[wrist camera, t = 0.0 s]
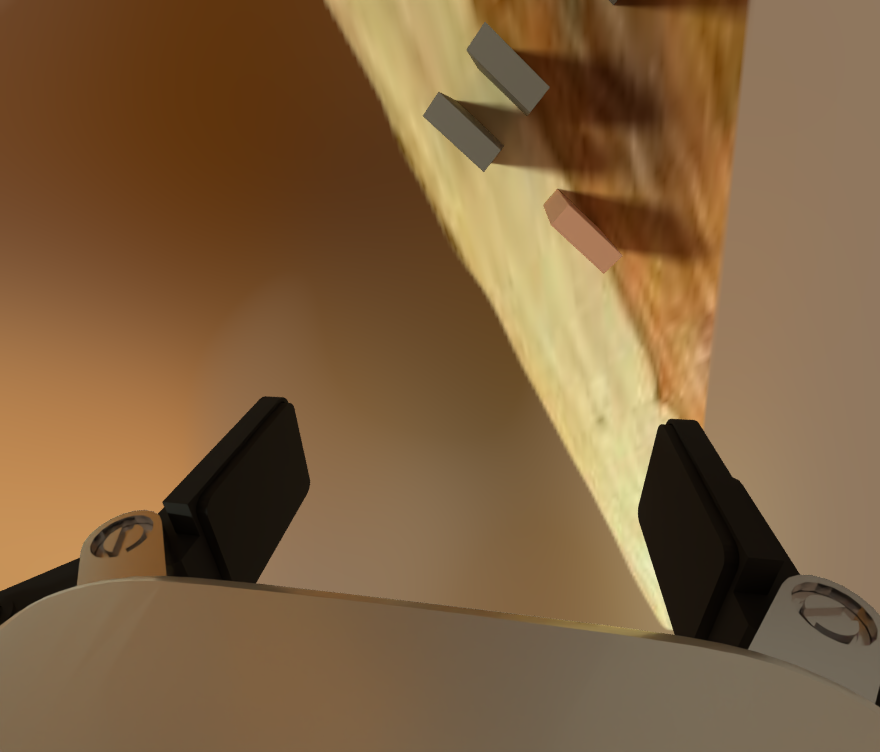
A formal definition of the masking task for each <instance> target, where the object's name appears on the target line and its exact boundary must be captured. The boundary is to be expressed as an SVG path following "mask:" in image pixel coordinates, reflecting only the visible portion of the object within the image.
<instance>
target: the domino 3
mask: <svg viewBox="0 0 880 752" xmlns="http://www.w3.org/2000/svg"><path fill="white" fill-rule="evenodd" d="M543 206H544V208H545V211H546V214H547V216H548V219H549V221H550V224H551V225H552V226H553V227H554V228H555V229H556V230H557V231H558V232H559V233H560V234H561V235H562V236H563V237H565V238H566V239H567V240H568V241H569V242H570V243H571V244H572V245H573V246H574V247H575V248H576V249H578V250H579V251H580V252H581V253H582V254H583V255H584V256H585V257H586V258H587V259H588V260H589V261H591V262H592V263H593V264H594V265H595V266H596V267H597V268H598V269H599V270H600V271H601V272H602V273H605V272H606V271H607V270H608V269H609V268H610V267H611V266H612V265H613V264H614V263H615V262H617V261H618V260H619V259H620V258H621V257H622V255H621V253H620V252H619V251H618V250H617V249H616V248H615V246H614V245H613V244H612V243H611V242H610V240H609V239H608V238H607V237H606V236H605V235H604V233H603V232H602V231H601V230H600V229H599V228H598V227H597V226H596V225H595V224H594V223H593V222H592V221H591V220H590V219H588V218H587V217H586V216H585V215H584V214H583V213H582V212H581V211H580V210H579V209H578V208H577V207H576V206H575V205H574V204H573V203H572V202H571V201H570V200H569V199H567V198H566V197H565V196H564V195H563V194H562V193H561V192H560V191H559V190H558V189H557V190H556V191H555V192H554V193H553V194H552V196H551V197H550V198H549V199H548V200H547V201H546V202H545V204H544V205H543Z"/></svg>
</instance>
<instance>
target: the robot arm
mask: <svg viewBox="0 0 880 752" xmlns="http://www.w3.org/2000/svg"><path fill="white" fill-rule="evenodd" d="M309 486H310V478H309V474H308V469H307V464H306V460H305V455H304V451H303V446H302V441H301V437H300V433H299V428H298V423H297V418H296V414H295V409H294V406H293V405H292V404H291V403H288V401H287V399H285V398H283V397H266V396H265V397H262V398H261V399H260V400H259V401H258V402H257V403H256V404H255V405H254V406H253V407H252V408H251V409H250V410H249V411H248V412H247V413H246V414H245V415H244V416H243V417H242V419H241V420H240V421H239V422H238V423H237V424H236V425H235V426H234V427H233V428H232V429H231V430H230V431H229V432H228V433H227V434H226V436H224V438H223V439H222V440H221V441H220V442H219V443H218V444H217V445H216V446H215V447H214V448H213V449H212V450H211V451H210V452H209V453H208V454H207V455H206V456H205V458H204V459H203V460H202V461H201V462H200V463H199V464H198V465H197V466H196V467H195V468H194V469H193V470H192V471H191V472H190V474H188V475H187V477H186V478H185V479H184V480H183V481H182V482H181V483H180V484H179V485H178V486H177V487H176V488H175V489H174V490H173V491H172V492H171V493H170V494H169V496H168V497H167V498H166V499H165V500H164V501H163V505H164V508H163V509H162V510H161V511H160V512H159V513H158V514H157V513H155V512H153V511H148V510H139V511H132V512H128V513H125V514H122V515H119V516H117V517H115V518H113V519H110V520H109V521H107V522H106V523H104V524H103V525H101V526H99V527H98V528H97V529H96V530H95V531H94V532H92V533H91V534H90V535H89V537H88V538H87V539H86V541H85V542H84V544H83V547H82V549H81V554H80V558H78V559H76V560H73V561H71V562H69V563H66V564H64V565H61V566H59V567H57V568H54V569H52V570H50V571H47V572H45V573H43V574H40V575H38V576H36V577H33V578H31V579H29V580H26V581H24V582H21V583H19V584H17V585H14V586H12V587H9V588H7V589H5V590H2V591H0V752H880V615H879V614H878V613H877V612H876V611H875V609H874V608H873V607H872V606H870V605H869V604H868V603H867V602H866V601H864V600H863V599H862V598H861V597H860V596H858V595H857V594H855V593H853V592H852V591H850V590H849V589H847V588H845V587H844V586H842V585H839V584H837V583H835V582H832V581H830V580H828V579H825V578H820V577H817V576H813V575H800V574H799V572H798V571H797V569H796V568H795V566H794V564H793V563H792V561H791V560H790V558H789V557H788V555H787V554H786V552H785V550H784V549H783V547H782V546H781V544H780V542H779V541H778V539H777V538H776V536H775V535H774V533H773V532H772V530H771V529H770V527H769V525H768V524H767V522H766V521H765V519H764V517H763V516H762V515H761V513H760V511H759V510H758V508H757V507H756V505H755V503H754V502H753V500H752V499H751V497H750V496H749V494H748V493H747V491H746V489H745V488H744V486H743V485H742V484H741V483H740V481H739V480H737V479H735V478H733V477H732V476H731V474H730V473H729V471H728V469H727V468H726V466H725V465H724V463H723V461H722V460H721V458H720V457H719V455H718V453H717V452H716V450H715V449H714V447H713V445H712V444H711V442H710V441H709V439H708V437H707V436H706V434H705V432H704V431H703V429H702V428H701V426H700V424H699V423H698V422H697V421H695V420H682V419H669V420H668V421H667V423H666V425H664V424H661V425H660V426H659V427H658V430H657V434H656V438H655V442H654V446H653V450H652V454H651V458H650V462H649V466H648V470H647V474H646V478H645V482H644V486H643V490H642V494H641V498H640V502H639V507H638V518H639V523H640V526H641V529H642V532H643V536H644V539H645V542H646V545H647V548H648V551H649V555H650V558H651V561H652V564H653V567H654V570H655V574H656V577H657V580H658V583H659V586H660V589H661V593H662V596H663V599H664V602H665V605H666V608H667V612H668V615H669V618H670V621H671V624H672V627H673V631H674V634H675V635H671V634H664V633H657V632H649V631H643V630H635V629H628V628H622V627H614V626H607V625H600V624H592V623H584V622H575V621H568V620H560V619H552V618H544V617H536V616H528V615H519V614H512V613H503V612H496V611H487V610H479V609H471V608H462V607H453V606H446V605H438V604H429V603H421V602H412V601H404V600H395V599H387V598H379V597H370V596H362V595H352V594H344V593H335V592H327V591H318V590H309V589H300V588H292V587H283V586H274V585H265V584H256V582H257V580H258V579H259V577H260V575H261V573H262V572H263V570H264V568H265V566H266V565H267V563H268V561H269V559H270V558H271V556H272V554H273V552H274V551H275V549H276V547H277V545H278V544H279V541H280V540H281V538H282V537H283V535H284V533H285V531H286V530H287V528H288V526H289V524H290V523H291V521H292V519H293V517H294V516H295V514H296V512H297V510H298V509H299V507H300V505H301V503H302V502H303V500H304V498H305V497H306V495H307V493H308V490H309Z"/></svg>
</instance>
